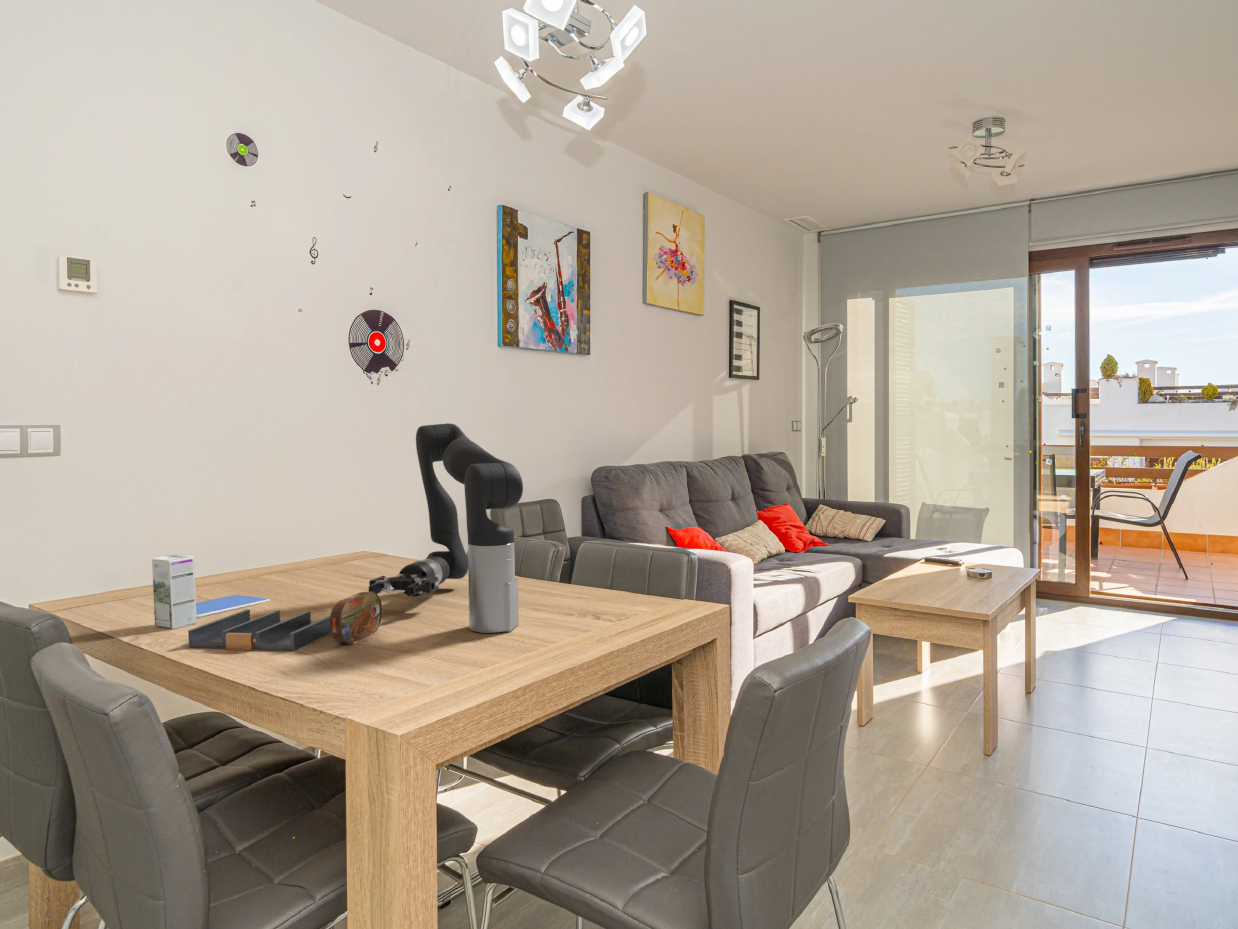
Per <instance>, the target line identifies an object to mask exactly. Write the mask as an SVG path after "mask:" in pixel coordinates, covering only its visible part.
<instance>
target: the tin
mask: <svg viewBox="0 0 1238 929" xmlns="http://www.w3.org/2000/svg"><path fill="white" fill-rule="evenodd" d="M329 616H330V626H331V633H330V634H331V637H332V638H333V640H334V641H335V642H336V643H338V644H342V643H344V644H345V643H347V644H349V645H352V643H354V642H356V641H358V640H360V639H361V640H363V639H365V638H367V637H368V636H367V635H369V636H371V635H372V634H371V633H373V634H375V633H376V632H377V631H378V629H379V627H380V626H381V623H382V622H381V621H382V618H383V605H382V601H381V598H380V596H379V593H378V594H377V593H375V592H373V591H369V590H368V591H361V592H358V593H355V594H353V595H351V596H348V597H346V598H343V599H341V600H339V601H337V602H336V603H335V604H334V605H333V608H332V609H331V612H330V615H329ZM374 632H375V633H374ZM370 634H371V635H370ZM366 636H367V637H366ZM364 637H365V638H364ZM361 640H360V641H361ZM358 642H359V641H358ZM356 643H357V642H356ZM354 644H355V643H354ZM345 645H346V644H345Z"/></svg>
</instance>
